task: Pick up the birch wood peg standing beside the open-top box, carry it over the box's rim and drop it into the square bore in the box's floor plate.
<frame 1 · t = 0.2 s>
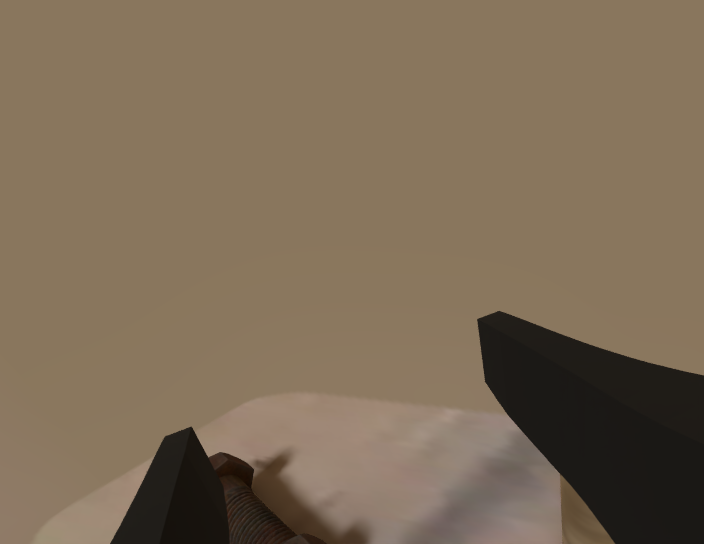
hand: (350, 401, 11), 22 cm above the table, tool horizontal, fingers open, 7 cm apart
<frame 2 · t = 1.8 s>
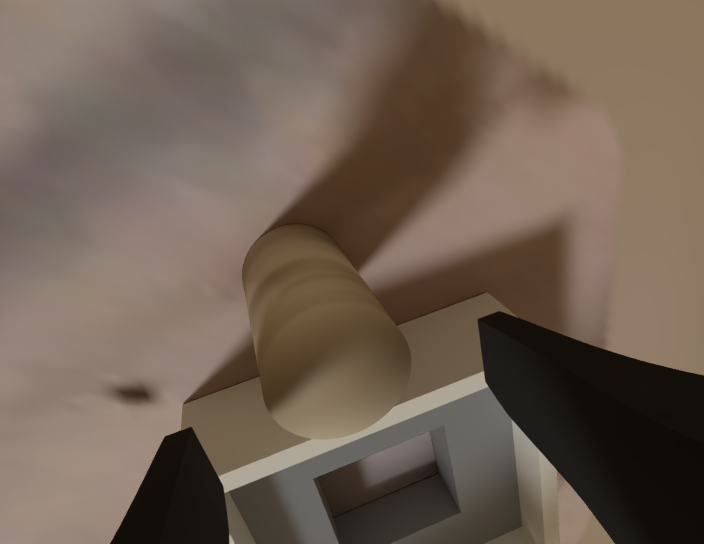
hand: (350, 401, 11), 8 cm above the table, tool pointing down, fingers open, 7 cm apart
box: (375, 456, 23), on the table
peg: (294, 272, 18), on the table
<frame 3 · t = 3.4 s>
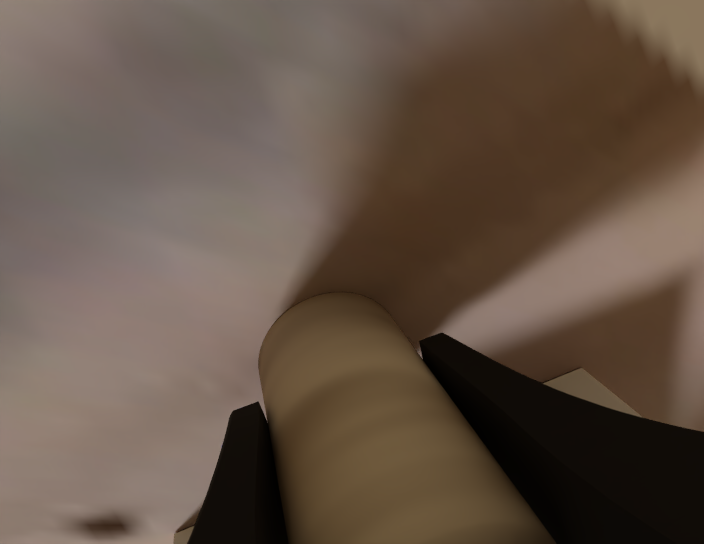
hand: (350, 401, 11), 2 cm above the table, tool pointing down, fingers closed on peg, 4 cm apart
peg: (331, 357, 13), on the table, touching gripper
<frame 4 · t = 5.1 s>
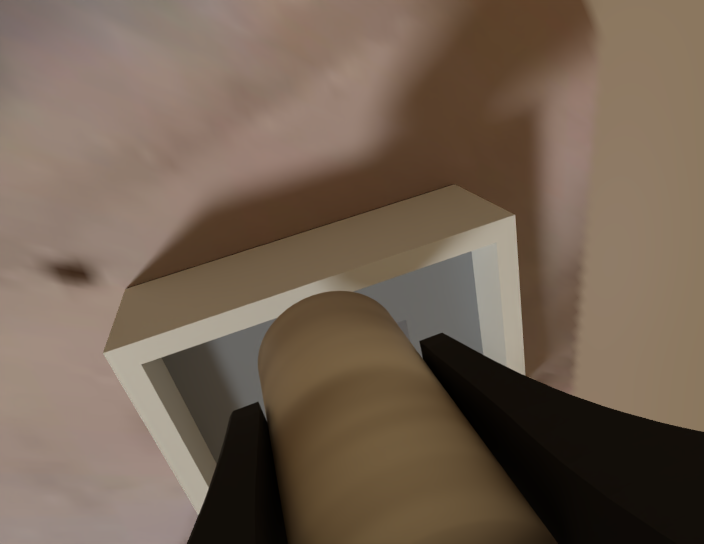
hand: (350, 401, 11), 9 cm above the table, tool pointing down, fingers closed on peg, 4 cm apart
box: (338, 366, 22), on the table
peg: (331, 356, 13), point 7 cm above the table, touching gripper
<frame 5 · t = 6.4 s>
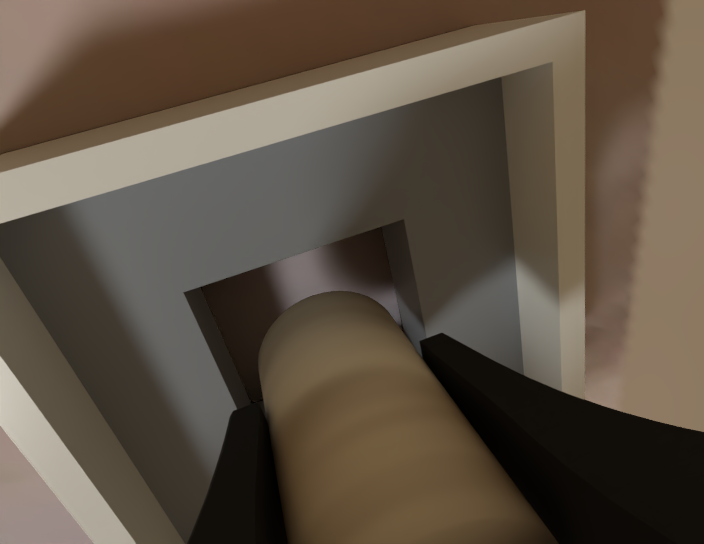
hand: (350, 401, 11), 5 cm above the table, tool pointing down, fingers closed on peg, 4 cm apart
box: (309, 306, 16), on the table
peg: (331, 356, 13), point 3 cm above the table, touching gripper
when the fingers open (5 cm above the table, at t = 7.2 s): peg drops 3 cm, resting in box.
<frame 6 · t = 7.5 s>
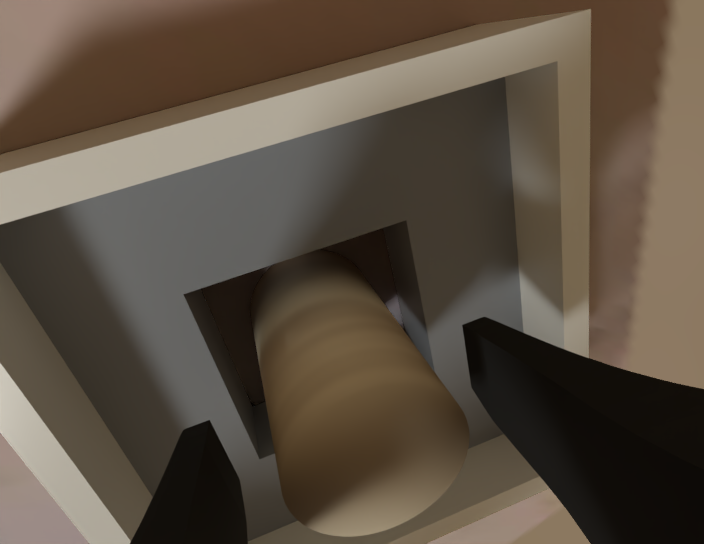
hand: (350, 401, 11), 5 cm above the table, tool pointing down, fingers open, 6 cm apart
box: (310, 307, 16), on the table
peg: (311, 306, 16), resting in box
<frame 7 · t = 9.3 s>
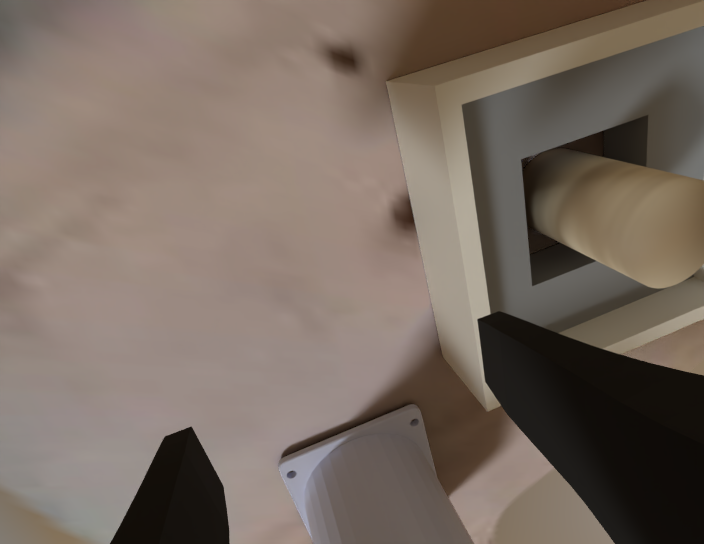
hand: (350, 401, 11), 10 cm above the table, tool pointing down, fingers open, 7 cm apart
box: (550, 190, 23), on the table
peg: (550, 190, 23), resting in box
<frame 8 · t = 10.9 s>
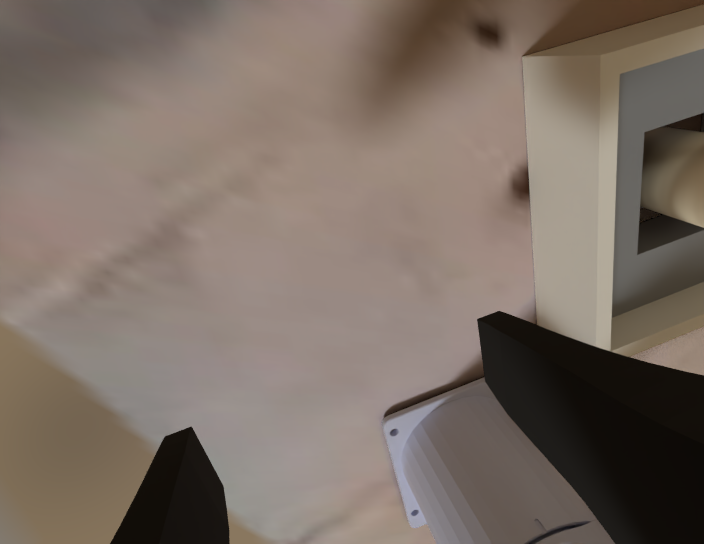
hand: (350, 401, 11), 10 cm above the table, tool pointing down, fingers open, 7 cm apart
box: (650, 167, 24), on the table
peg: (650, 166, 24), resting in box
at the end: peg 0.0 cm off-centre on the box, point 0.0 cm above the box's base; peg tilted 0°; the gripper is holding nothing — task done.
